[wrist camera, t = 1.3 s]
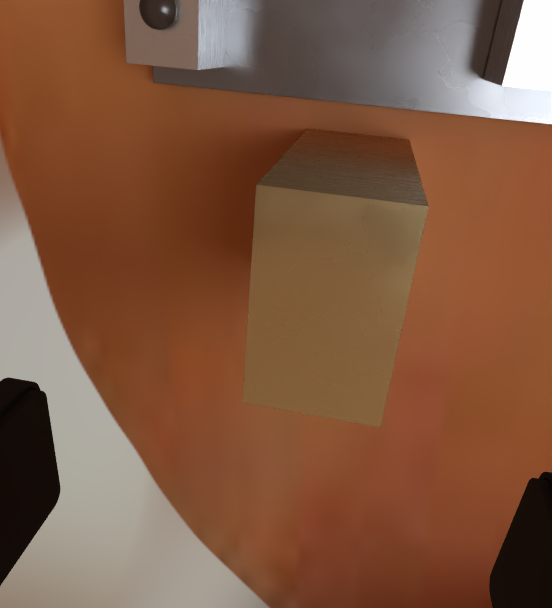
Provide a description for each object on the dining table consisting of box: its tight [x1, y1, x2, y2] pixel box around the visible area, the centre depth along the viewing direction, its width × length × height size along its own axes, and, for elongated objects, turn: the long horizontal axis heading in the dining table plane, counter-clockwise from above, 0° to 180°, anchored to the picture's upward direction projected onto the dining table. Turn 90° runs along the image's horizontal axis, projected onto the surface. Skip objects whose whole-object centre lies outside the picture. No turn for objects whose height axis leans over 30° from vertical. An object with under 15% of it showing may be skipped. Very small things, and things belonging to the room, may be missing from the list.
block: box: [242, 129, 428, 427], centre depth 22 cm, size 5×8×12 cm, turn 176°
